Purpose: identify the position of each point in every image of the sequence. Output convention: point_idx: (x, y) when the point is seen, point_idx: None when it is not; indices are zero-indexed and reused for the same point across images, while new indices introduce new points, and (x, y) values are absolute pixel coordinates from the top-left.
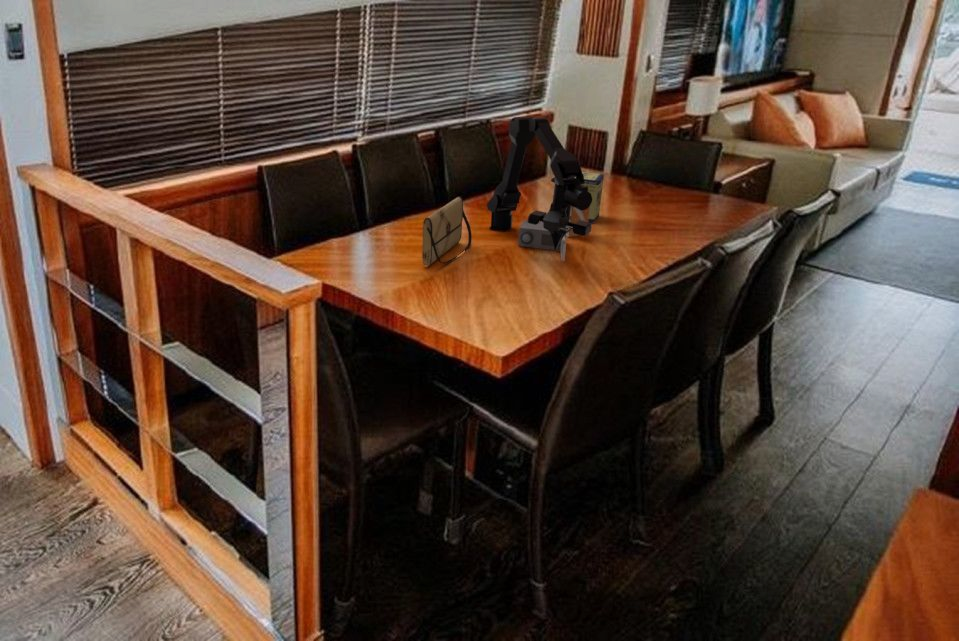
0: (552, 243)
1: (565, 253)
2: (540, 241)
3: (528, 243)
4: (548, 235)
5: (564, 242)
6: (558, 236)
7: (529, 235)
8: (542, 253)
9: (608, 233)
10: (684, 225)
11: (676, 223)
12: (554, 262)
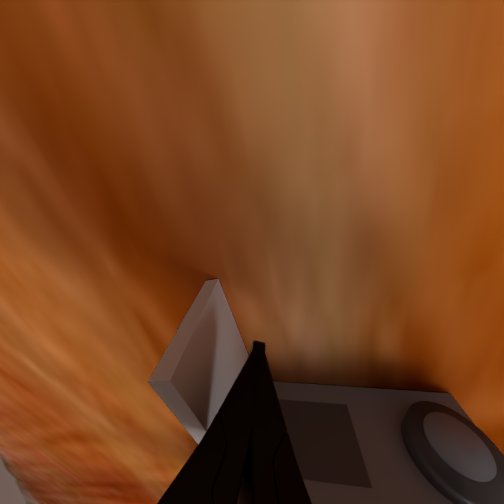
0: (294, 415)
1: (187, 312)
2: (356, 425)
3: (416, 406)
4: (327, 474)
5: (176, 403)
6: (206, 498)
7: (452, 470)
8: (329, 342)
9: (177, 474)
10: (87, 494)
11: (102, 498)
12: (249, 244)
